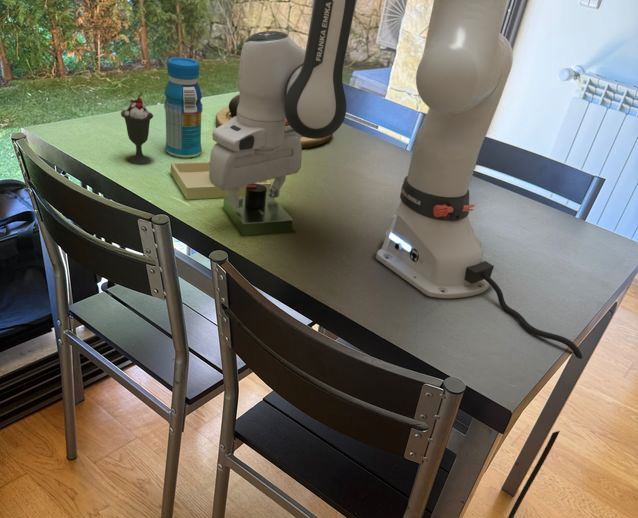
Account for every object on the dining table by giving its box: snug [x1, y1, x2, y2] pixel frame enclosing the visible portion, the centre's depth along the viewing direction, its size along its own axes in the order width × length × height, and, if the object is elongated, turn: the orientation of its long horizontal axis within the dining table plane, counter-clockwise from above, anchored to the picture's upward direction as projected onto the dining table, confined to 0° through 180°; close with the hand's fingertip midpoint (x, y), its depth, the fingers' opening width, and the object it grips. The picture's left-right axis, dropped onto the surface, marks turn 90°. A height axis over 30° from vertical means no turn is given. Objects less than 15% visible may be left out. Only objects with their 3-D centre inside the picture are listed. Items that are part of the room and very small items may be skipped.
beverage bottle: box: [163, 56, 204, 159], centre depth 135 cm, size 8×8×20 cm
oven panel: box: [222, 194, 294, 237], centre depth 118 cm, size 12×10×3 cm
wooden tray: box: [170, 161, 272, 200], centre depth 129 cm, size 13×18×2 cm
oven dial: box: [245, 183, 267, 209], centre depth 117 cm, size 4×4×4 cm
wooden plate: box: [215, 93, 334, 148], centre depth 161 cm, size 32×32×8 cm
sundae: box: [120, 92, 154, 165], centre depth 130 cm, size 7×7×15 cm
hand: (255, 201), depth 117 cm, fingers open, 8 cm apart
